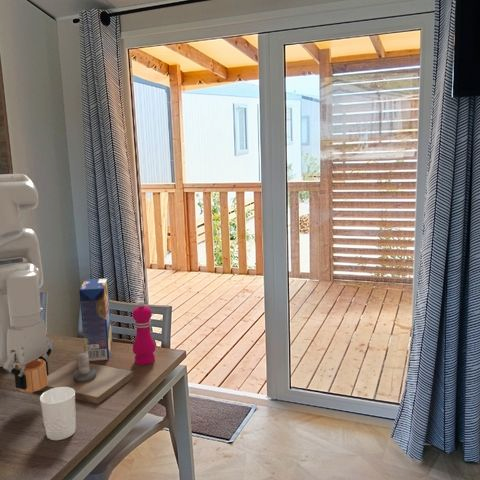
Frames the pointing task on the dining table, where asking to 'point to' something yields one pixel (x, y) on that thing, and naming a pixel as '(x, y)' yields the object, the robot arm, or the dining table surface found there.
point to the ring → (35, 375)
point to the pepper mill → (143, 336)
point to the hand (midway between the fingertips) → (32, 380)
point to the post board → (90, 387)
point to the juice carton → (96, 318)
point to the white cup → (59, 412)
